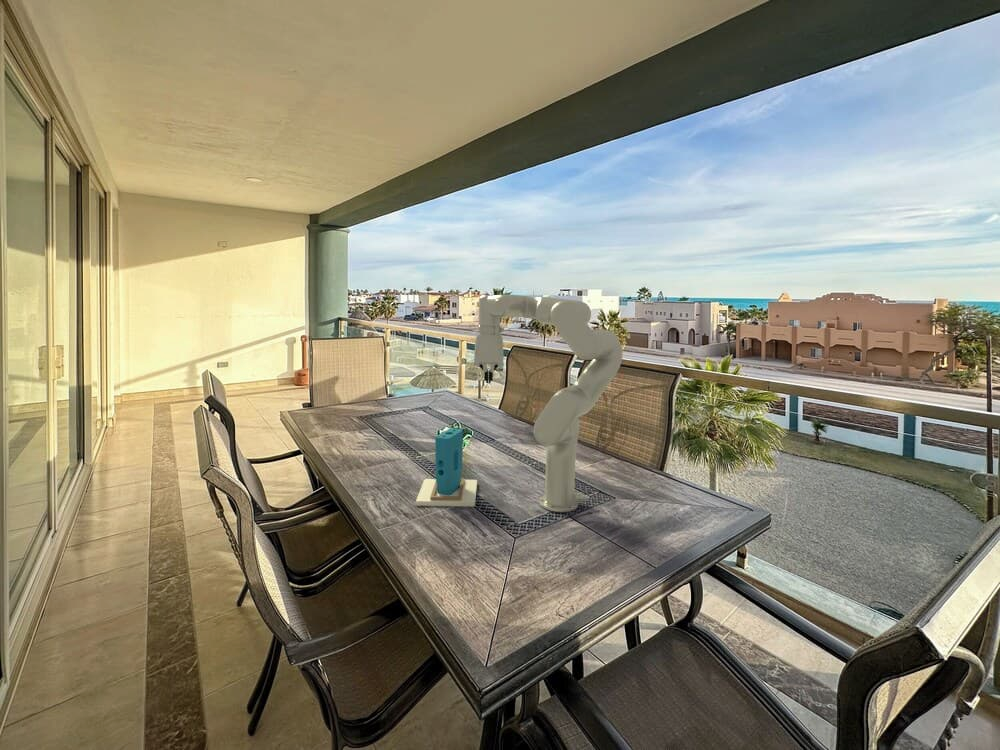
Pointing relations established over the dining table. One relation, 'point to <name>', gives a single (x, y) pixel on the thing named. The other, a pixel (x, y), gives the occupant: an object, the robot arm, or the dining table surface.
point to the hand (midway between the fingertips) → (488, 382)
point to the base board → (458, 498)
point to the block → (448, 460)
